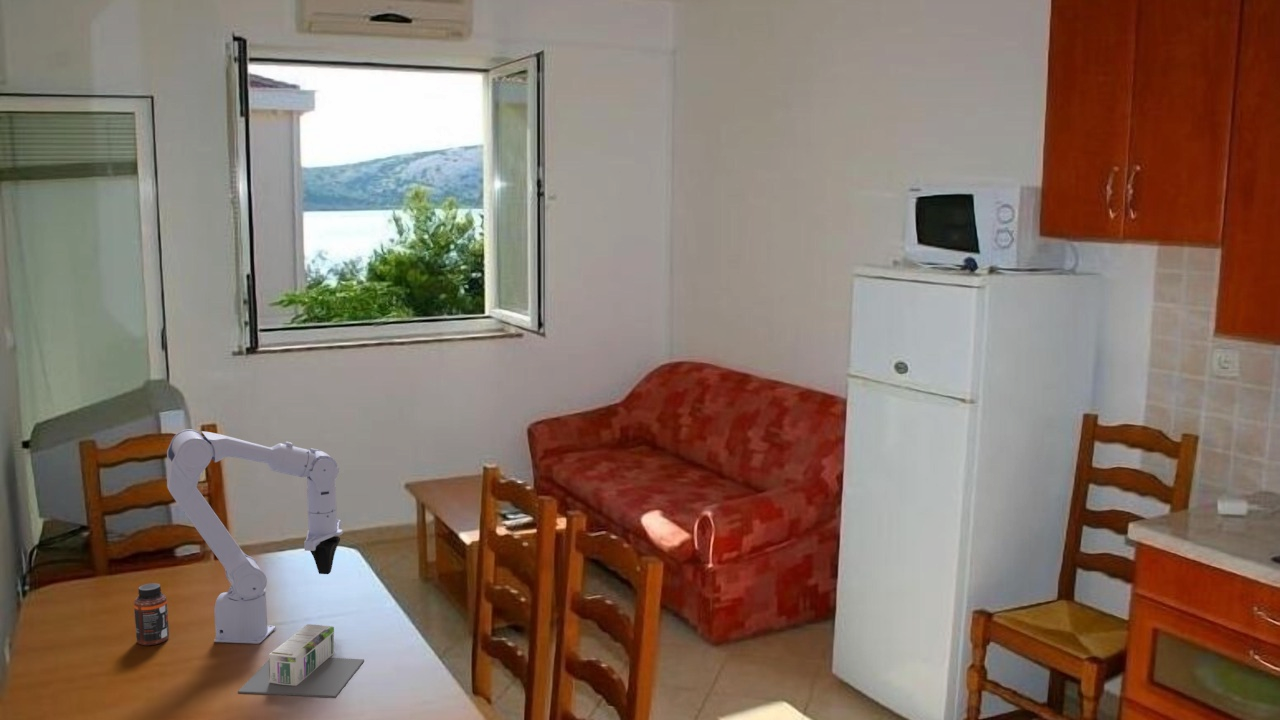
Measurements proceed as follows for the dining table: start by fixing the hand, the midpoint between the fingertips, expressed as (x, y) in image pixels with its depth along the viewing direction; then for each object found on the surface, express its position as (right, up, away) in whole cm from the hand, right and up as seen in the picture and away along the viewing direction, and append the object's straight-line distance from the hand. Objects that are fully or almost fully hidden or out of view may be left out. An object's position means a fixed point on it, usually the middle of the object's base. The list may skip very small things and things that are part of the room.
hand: (324, 572), depth 222 cm
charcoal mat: (+3, -14, -24) cm, 28 cm away
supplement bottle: (-32, -12, -9) cm, 35 cm away
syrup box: (+4, -10, -15) cm, 18 cm away
